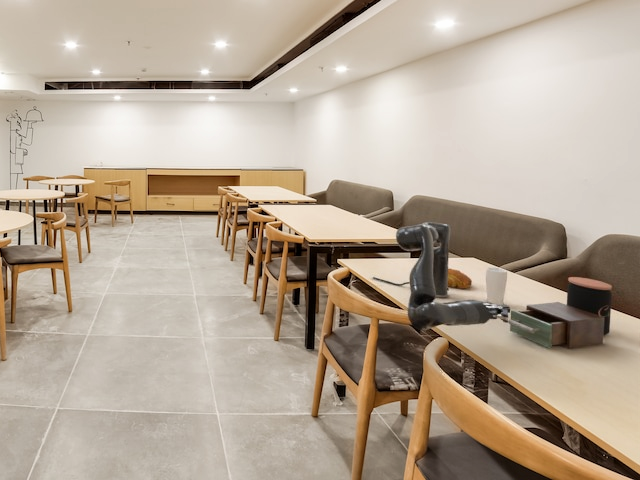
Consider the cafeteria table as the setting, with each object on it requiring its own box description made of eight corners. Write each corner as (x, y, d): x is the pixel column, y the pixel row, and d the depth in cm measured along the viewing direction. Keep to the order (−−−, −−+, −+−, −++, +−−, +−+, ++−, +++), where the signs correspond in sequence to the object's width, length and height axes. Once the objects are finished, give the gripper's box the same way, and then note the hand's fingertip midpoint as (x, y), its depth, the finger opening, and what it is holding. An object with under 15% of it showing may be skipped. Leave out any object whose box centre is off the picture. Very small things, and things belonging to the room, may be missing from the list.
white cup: (509, 307, 154) (511, 272, 154) (491, 305, 155) (492, 271, 155) (498, 300, 161) (499, 267, 160) (480, 299, 162) (482, 266, 162)
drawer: (538, 349, 120) (540, 326, 120) (500, 331, 131) (501, 310, 131) (580, 343, 124) (582, 321, 124) (540, 327, 135) (541, 306, 135)
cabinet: (569, 348, 122) (570, 321, 122) (525, 330, 135) (526, 305, 134) (603, 344, 125) (604, 317, 125) (556, 326, 138) (558, 301, 137)
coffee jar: (604, 339, 129) (607, 289, 128) (561, 325, 138) (563, 279, 138) (613, 332, 134) (616, 284, 133) (571, 319, 143) (573, 275, 142)
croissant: (428, 285, 184) (427, 270, 183) (445, 276, 190) (444, 262, 189) (461, 295, 170) (460, 279, 170) (479, 285, 177) (478, 269, 176)
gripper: (488, 310, 114) (531, 306, 118) (447, 293, 127) (487, 290, 131) (487, 333, 114) (530, 328, 118) (447, 314, 127) (486, 310, 131)
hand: (507, 308), depth 124 cm, fingers closed
